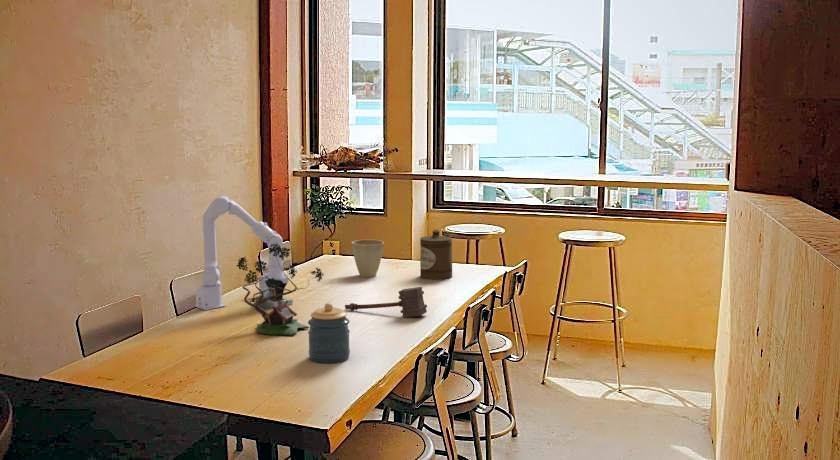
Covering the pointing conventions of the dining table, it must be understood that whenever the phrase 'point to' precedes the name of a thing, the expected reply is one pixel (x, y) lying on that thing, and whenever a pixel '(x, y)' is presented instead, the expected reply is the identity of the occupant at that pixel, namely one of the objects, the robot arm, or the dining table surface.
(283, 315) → the bonsai tree
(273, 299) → the block
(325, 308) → the canister
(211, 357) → the dining table surface
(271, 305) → the bore block
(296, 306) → the dining table surface
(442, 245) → the wooden container
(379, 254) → the plant pot
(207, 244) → the robot arm
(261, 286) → the medicine box
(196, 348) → the dining table surface
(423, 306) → the hammer
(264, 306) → the rubber stub
